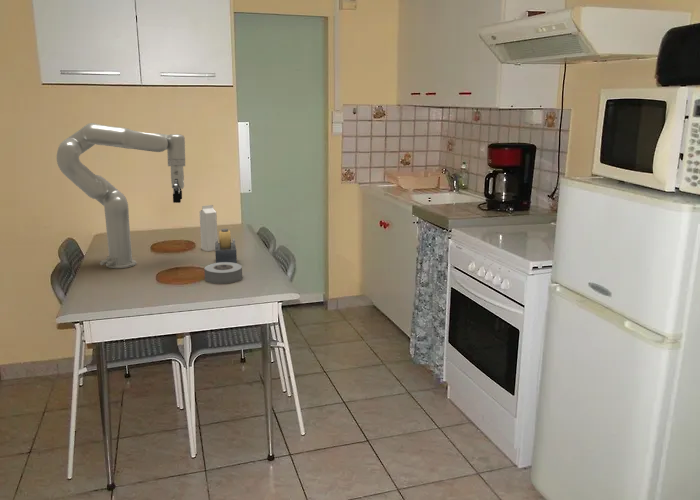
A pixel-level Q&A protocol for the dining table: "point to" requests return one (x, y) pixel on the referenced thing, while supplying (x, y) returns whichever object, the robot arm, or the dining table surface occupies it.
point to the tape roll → (223, 272)
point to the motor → (225, 253)
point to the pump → (225, 238)
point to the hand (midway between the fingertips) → (177, 200)
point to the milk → (208, 228)
